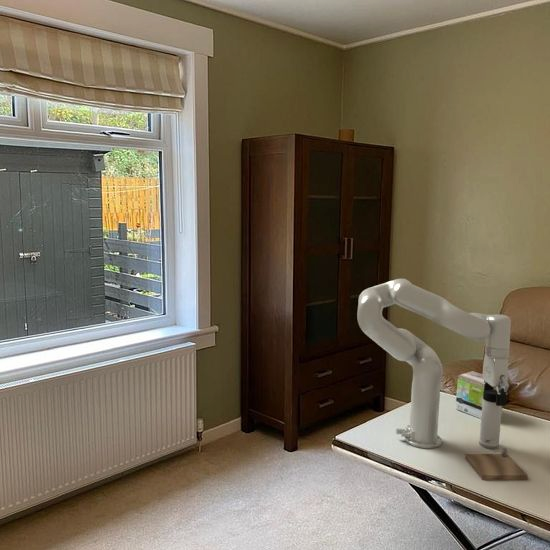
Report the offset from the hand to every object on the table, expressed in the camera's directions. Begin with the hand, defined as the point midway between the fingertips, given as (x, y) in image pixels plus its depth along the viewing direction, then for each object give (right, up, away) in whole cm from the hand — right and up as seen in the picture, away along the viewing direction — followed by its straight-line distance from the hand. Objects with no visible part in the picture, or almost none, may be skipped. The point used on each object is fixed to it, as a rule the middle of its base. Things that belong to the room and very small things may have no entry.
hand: (494, 400), depth 190 cm
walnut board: (-5, -19, -14) cm, 24 cm away
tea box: (+6, -13, +32) cm, 34 cm away
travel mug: (-1, -17, +3) cm, 17 cm away
